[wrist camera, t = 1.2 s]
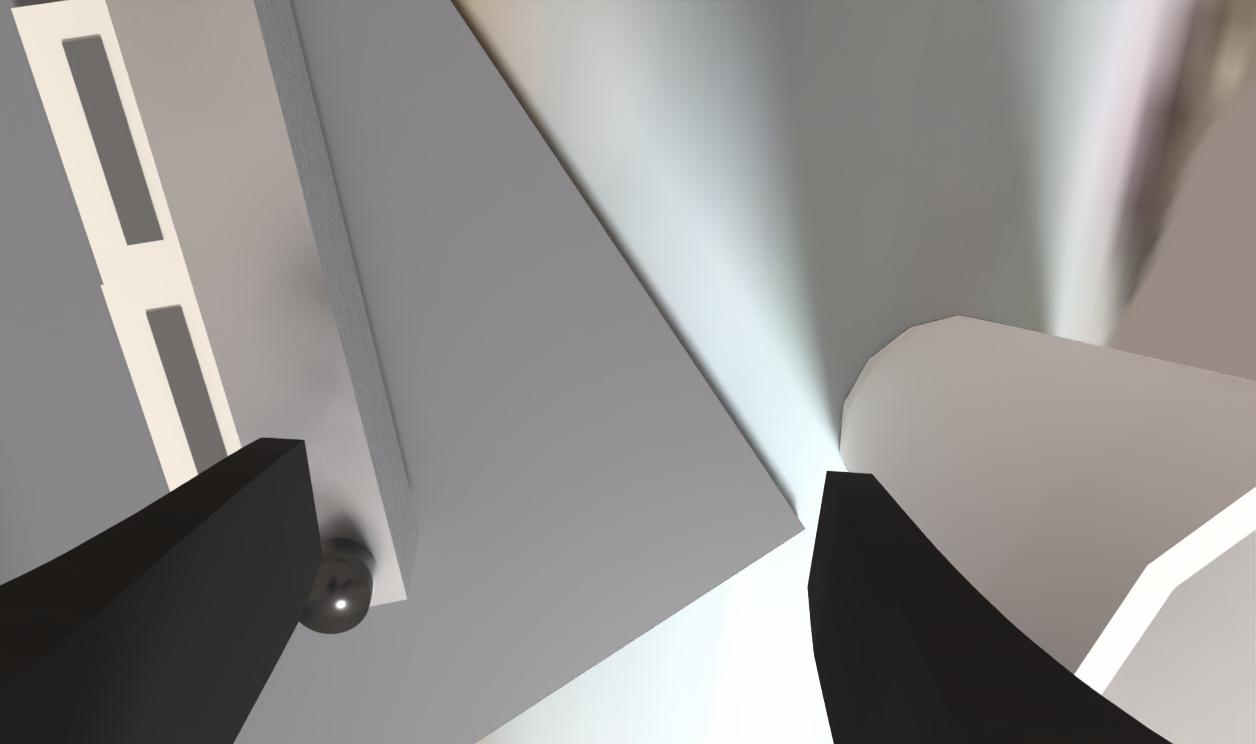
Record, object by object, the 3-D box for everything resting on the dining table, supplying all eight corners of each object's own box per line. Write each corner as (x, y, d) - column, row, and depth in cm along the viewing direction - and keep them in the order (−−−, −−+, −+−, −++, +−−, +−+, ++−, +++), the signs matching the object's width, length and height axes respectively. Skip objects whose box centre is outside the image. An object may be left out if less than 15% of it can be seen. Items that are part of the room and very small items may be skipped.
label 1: (20, 9, 19) (9, 8, 19) (210, -18, 20) (203, -20, 19) (111, 281, 21) (102, 285, 21) (282, 253, 22) (278, 256, 21)
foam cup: (895, 201, 24) (1310, 322, 11) (1160, 339, 26) (1748, 566, 14) (729, 506, 26) (930, 887, 14) (988, 611, 28) (1365, 1021, 16)
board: (297, 845, 27) (293, 861, 27) (-516, 92, 19) (-547, 92, 19) (799, 519, 26) (805, 528, 26) (161, -431, 18) (150, -447, 17)
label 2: (107, 281, 21) (99, 285, 21) (279, 253, 22) (274, 256, 21) (183, 509, 23) (177, 517, 23) (341, 480, 23) (338, 487, 23)
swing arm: (21, -354, 17) (-137, -498, 13) (237, -379, 17) (152, -528, 13) (293, 557, 23) (245, 660, 19) (449, 527, 23) (436, 622, 19)
